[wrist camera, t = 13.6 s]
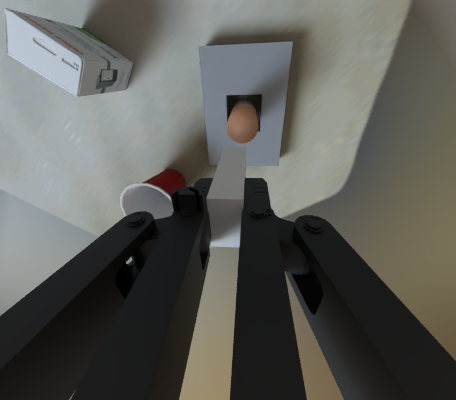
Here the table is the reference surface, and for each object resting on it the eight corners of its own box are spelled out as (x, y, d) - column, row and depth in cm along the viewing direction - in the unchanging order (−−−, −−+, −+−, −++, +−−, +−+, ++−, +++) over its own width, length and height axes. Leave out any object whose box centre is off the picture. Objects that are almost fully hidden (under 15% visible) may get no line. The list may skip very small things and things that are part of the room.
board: (202, 48, 30) (198, 46, 27) (289, 44, 29) (293, 41, 26) (211, 159, 40) (209, 165, 37) (276, 159, 38) (278, 165, 36)
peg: (232, 98, 33) (225, 109, 23) (256, 98, 33) (259, 109, 23) (232, 123, 35) (226, 143, 25) (255, 123, 35) (257, 143, 25)
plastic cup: (156, 147, 39) (125, 172, 29) (203, 173, 42) (189, 205, 32) (142, 186, 45) (111, 219, 35) (184, 207, 47) (167, 244, 37)
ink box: (77, 59, 32) (1, 53, 22) (81, 26, 30) (-2, 2, 20) (126, 91, 34) (76, 99, 24) (134, 62, 32) (83, 57, 22)
